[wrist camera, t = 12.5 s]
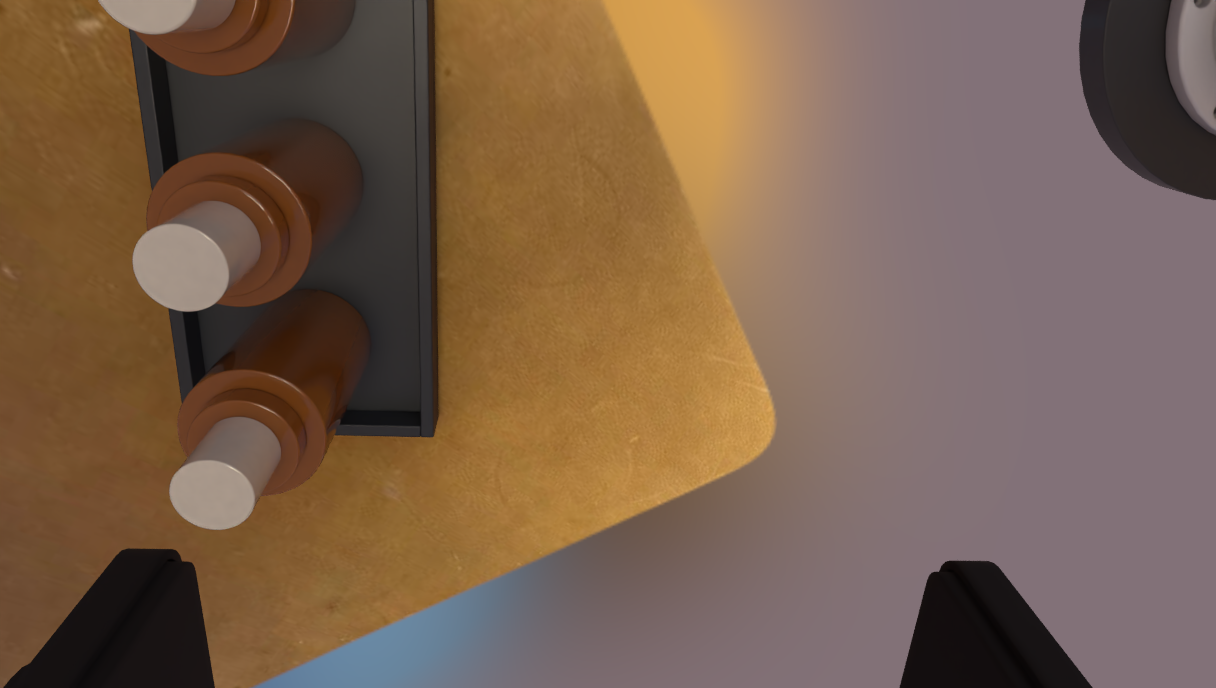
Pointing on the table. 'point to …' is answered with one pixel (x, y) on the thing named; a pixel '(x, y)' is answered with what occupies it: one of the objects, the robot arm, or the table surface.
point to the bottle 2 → (247, 216)
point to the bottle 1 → (234, 31)
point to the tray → (385, 222)
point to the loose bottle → (268, 407)
